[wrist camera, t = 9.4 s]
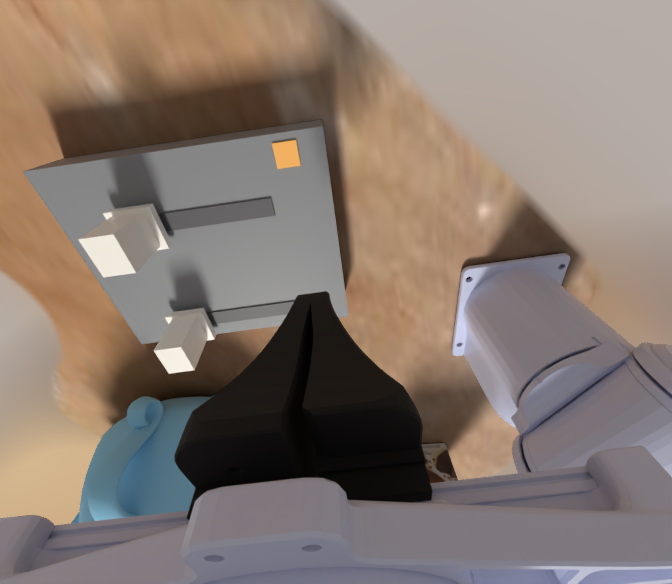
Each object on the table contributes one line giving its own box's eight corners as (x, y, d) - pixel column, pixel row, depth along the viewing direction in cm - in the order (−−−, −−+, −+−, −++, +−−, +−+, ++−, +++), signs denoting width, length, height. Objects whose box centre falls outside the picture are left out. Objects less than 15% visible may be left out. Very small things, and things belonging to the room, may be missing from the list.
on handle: (216, 334, 21) (202, 371, 19) (182, 339, 21) (163, 376, 19) (203, 307, 20) (186, 343, 17) (167, 312, 20) (145, 349, 17)
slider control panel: (345, 292, 24) (348, 317, 22) (158, 317, 25) (140, 345, 22) (321, 119, 17) (323, 126, 15) (63, 158, 18) (21, 172, 15)
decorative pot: (231, 474, 40) (200, 628, 29) (98, 435, 33) (-9, 616, 22) (309, 414, 33) (307, 582, 22) (163, 350, 27) (56, 547, 16)
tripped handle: (172, 244, 17) (146, 275, 15) (131, 250, 17) (97, 282, 15) (152, 203, 16) (119, 228, 13) (108, 209, 16) (66, 236, 13)
